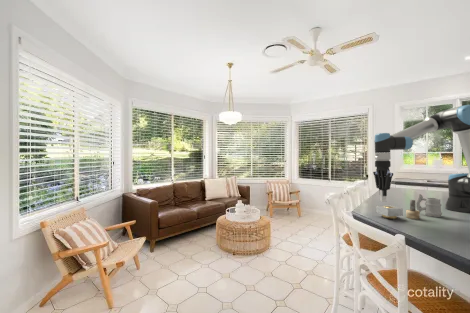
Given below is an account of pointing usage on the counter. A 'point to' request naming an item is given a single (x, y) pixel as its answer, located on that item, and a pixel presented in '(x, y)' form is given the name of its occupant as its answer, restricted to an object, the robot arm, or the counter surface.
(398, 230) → the counter surface
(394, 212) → the grey square block
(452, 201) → the robot arm
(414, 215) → the stand
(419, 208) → the mug
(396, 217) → the hub
